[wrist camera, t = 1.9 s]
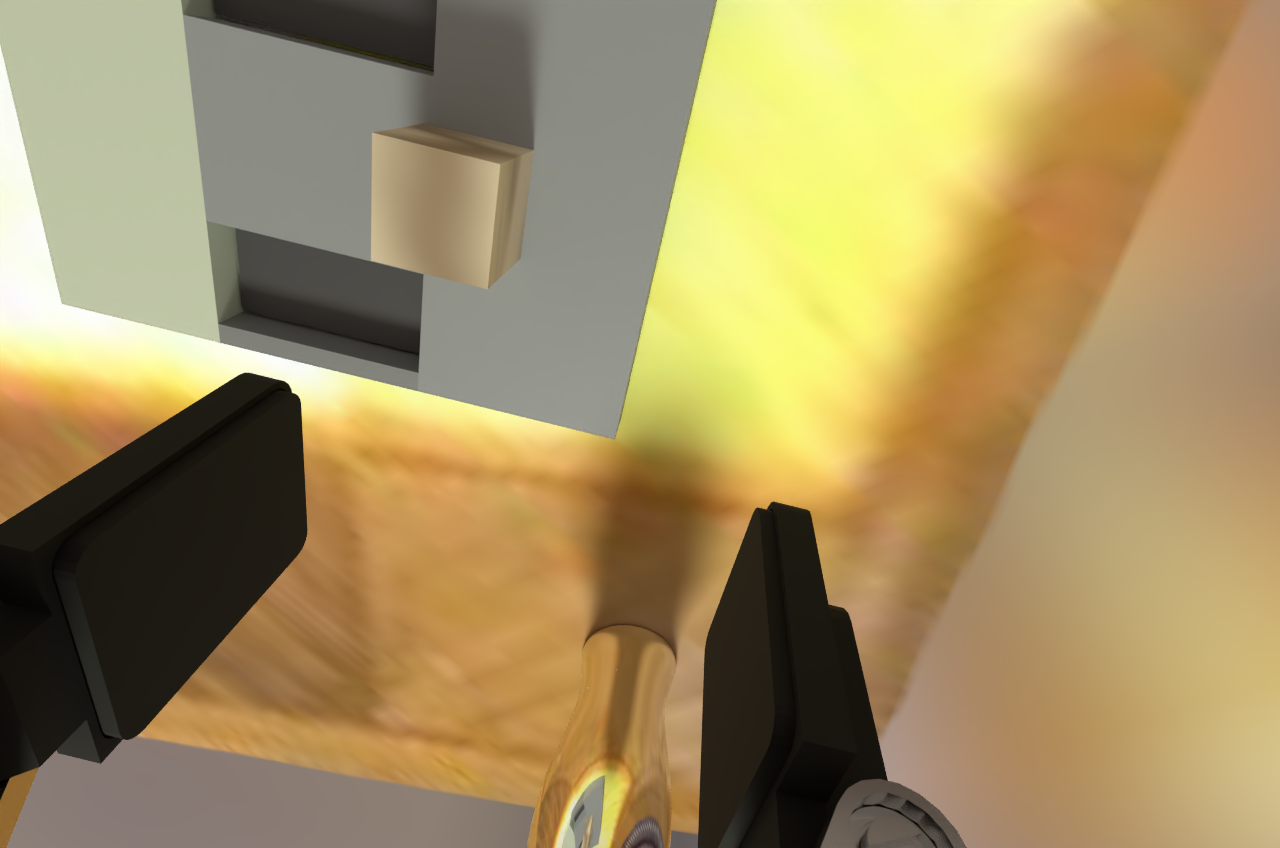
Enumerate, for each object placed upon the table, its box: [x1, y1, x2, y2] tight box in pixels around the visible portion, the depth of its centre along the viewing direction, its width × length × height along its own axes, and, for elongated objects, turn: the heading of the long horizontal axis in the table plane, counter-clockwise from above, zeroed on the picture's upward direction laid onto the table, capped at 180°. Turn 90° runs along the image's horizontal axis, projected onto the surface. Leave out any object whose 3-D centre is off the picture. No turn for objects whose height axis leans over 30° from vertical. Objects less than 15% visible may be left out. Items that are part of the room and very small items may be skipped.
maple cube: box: [371, 123, 534, 289], centre depth 25 cm, size 4×4×4 cm
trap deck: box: [0, 0, 717, 439], centre depth 28 cm, size 28×20×2 cm
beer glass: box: [527, 625, 676, 848], centre depth 36 cm, size 7×7×15 cm
